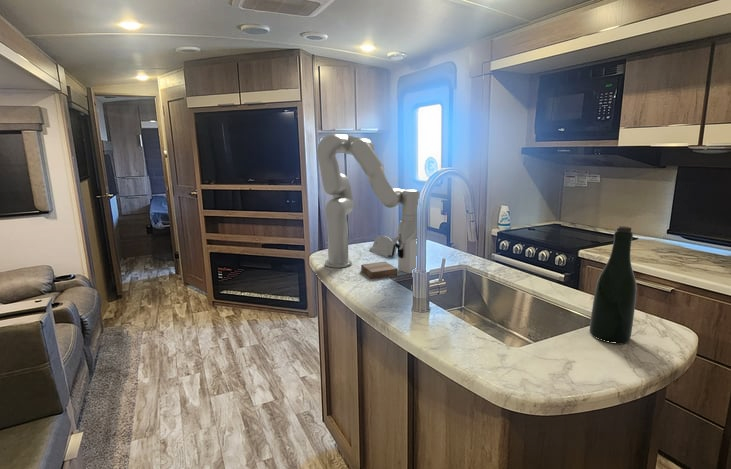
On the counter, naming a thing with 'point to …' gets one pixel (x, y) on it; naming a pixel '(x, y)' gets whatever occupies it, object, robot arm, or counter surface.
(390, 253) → the grey rounded slab
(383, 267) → the walnut stand
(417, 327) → the counter surface
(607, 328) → the dark green wine bottle
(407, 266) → the milk carton
